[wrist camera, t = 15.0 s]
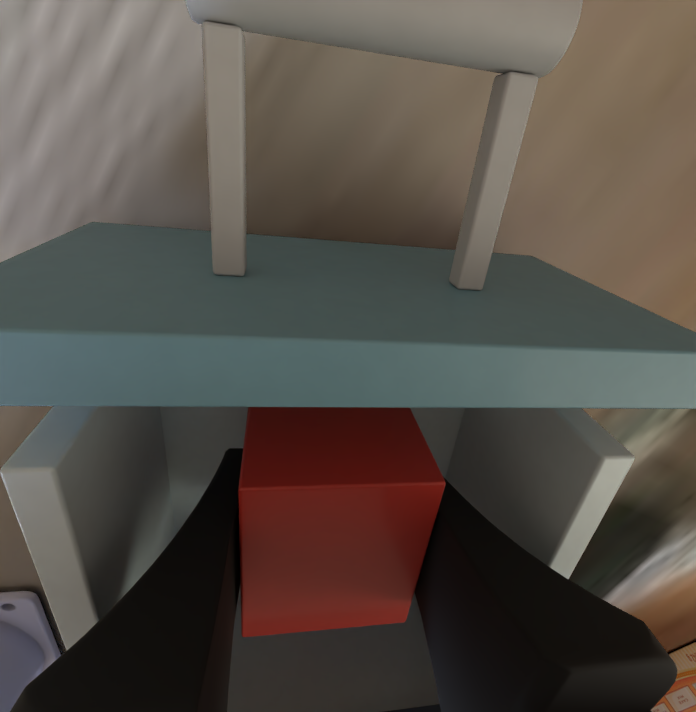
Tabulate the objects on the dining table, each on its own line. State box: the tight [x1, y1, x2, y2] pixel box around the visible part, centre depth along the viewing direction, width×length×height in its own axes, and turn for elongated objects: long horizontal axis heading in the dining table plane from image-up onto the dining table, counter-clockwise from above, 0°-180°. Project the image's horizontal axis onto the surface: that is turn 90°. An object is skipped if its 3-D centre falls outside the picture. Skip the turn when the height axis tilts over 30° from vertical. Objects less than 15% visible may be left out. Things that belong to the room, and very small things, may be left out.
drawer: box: [0, 0, 696, 712], centre depth 11 cm, size 20×13×7 cm, turn 174°
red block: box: [238, 407, 446, 637], centre depth 12 cm, size 4×5×5 cm
